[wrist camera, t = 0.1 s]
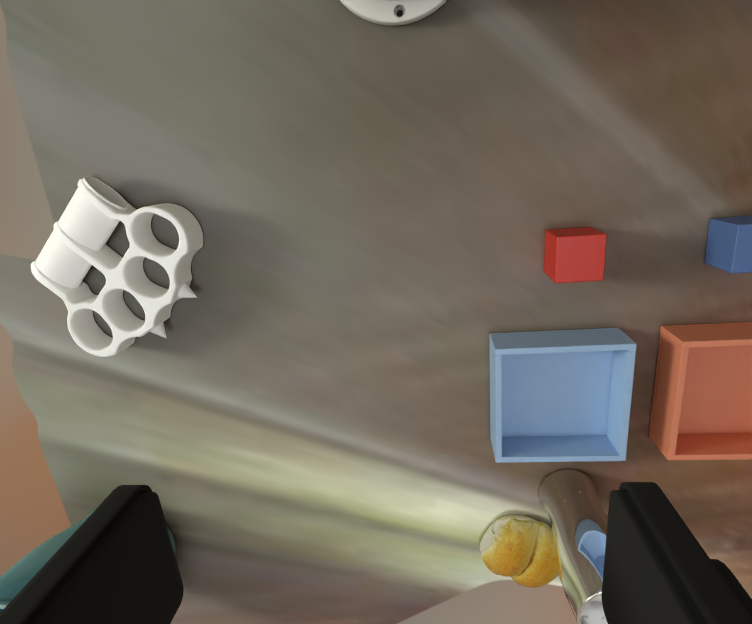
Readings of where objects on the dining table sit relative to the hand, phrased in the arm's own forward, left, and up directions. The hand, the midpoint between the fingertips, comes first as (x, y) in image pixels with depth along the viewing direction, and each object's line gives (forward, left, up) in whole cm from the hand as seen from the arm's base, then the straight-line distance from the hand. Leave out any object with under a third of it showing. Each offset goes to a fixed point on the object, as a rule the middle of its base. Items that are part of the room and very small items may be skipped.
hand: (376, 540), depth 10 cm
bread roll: (+36, +10, -37) cm, 53 cm away
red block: (+2, +14, -37) cm, 39 cm away
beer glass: (+29, +15, -37) cm, 49 cm away
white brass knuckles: (+1, -29, -37) cm, 47 cm away
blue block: (+2, +28, -37) cm, 46 cm away
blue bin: (+16, +13, -37) cm, 42 cm away
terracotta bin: (+16, +29, -37) cm, 49 cm away
